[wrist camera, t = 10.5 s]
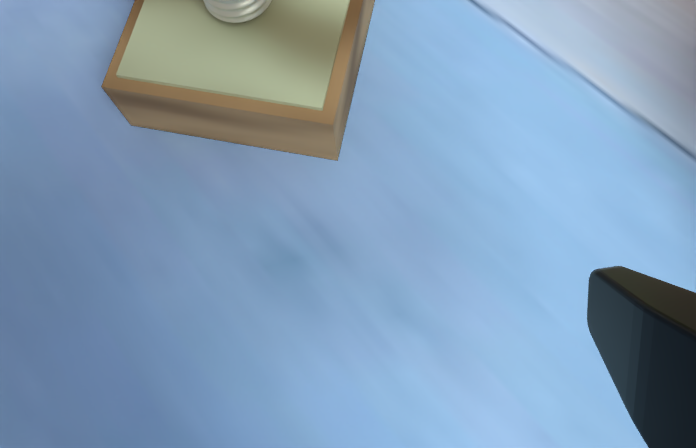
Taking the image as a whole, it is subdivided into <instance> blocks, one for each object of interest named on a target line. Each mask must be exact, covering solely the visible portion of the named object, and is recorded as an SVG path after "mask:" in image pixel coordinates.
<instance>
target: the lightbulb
mask: <svg viewBox="0 0 696 448" xmlns="http://www.w3.org/2000/svg"><path fill="white" fill-rule="evenodd" d="M203 1H204V3H205V6H206V8H207V9H208V11H209V12H210V13H211V14H212V15H213V16H214V17H216V18H218V19H220V20H222V21H225V22H231V23H240V22H246V21H249V20H252V19H254V18H256V17H258V16H259V15H260V14H262V13H263V12H264V11H265V10H266V9H267V8H268V6H269V5H270V3H271V1H272V0H203Z"/></svg>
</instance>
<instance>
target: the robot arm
mask: <svg viewBox="0 0 696 448" xmlns="http://www.w3.org/2000/svg"><path fill="white" fill-rule="evenodd" d="M587 322H588V327H589V331H590V333H591V336H592V338H593V340H594V342H595V344H596V346H597V348H598V350H599V352H600V355H601V357H602V359H603V361H604V363H605V365H606V367H607V369H608V371H609V373H610V376H611V378H612V380H613V382H614V384H615V386H616V388H617V390H618V392H619V394H620V397H621V399H622V401H623V403H624V405H625V407H626V409H627V411H628V413H629V415H630V417H631V419H632V421H633V422H634V424H635V426H636V427H637V429H638V431H639V433H640V434H641V436H642V438H643V439H644V441H645V442H646V444H647V446H648V447H649V448H696V293H695V292H692V291H689V290H686V289H683V288H681V287H678V286H675V285H672V284H670V283H667V282H664V281H661V280H658V279H656V278H653V277H650V276H647V275H644V274H642V273H639V272H636V271H633V270H631V269H628V268H625V267H622V266H614V267H608V268H601V269H596V270H594V271H593V272H592V273H591V274H590V277H589V288H588V308H587Z"/></svg>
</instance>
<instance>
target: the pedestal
mask: <svg viewBox="0 0 696 448" xmlns="http://www.w3.org/2000/svg"><path fill="white" fill-rule="evenodd" d="M374 2H375V0H272V1H271V3H270V5H269V6H268V8H267V9H266V10H265V11H264V12H263V13H262V14H260V15H259V16H258V17H256V18H254V19H252V20H249V21H246V22H240V23H231V22H225V21H222V20H220V19H218V18H216V17H214V16H213V15H212V14H211V13H210V12H209V11H208V9H207V8H206V6H205V3H204V1H203V0H135V2H134V4H133V7H132V9H131V12H130V15H129V17H128V20H127V22H126V25H125V27H124V30H123V33H122V35H121V38H120V40H119V43H118V45H117V48H116V50H115V53H114V56H113V58H112V61H111V63H110V66H109V68H108V71H107V74H106V76H105V79H104V81H103V84H102V86H101V87H102V88H103V90H104V91H105V92H106V93H107V95H108V96H109V97H110V99H111V100H112V101H113V102H114V104H115V105H116V106H117V108H118V109H119V110H120V111H121V113H122V114H123V115H124V117H125V118H126V119H127V120H128V122H129V123H130V124H131V125H132V126H138V127H144V128H150V129H156V130H162V131H168V132H173V133H179V134H185V135H191V136H197V137H203V138H208V139H214V140H220V141H226V142H232V143H238V144H243V145H249V146H255V147H261V148H267V149H273V150H279V151H284V152H290V153H296V154H302V155H308V156H314V157H319V158H325V159H331V160H337V161H338V157H339V152H340V148H341V144H342V140H343V135H344V131H345V127H346V122H347V118H348V114H349V109H350V105H351V101H352V97H353V92H354V88H355V84H356V79H357V75H358V71H359V67H360V62H361V58H362V54H363V49H364V45H365V41H366V37H367V32H368V28H369V24H370V19H371V15H372V11H373V7H374Z"/></svg>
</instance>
